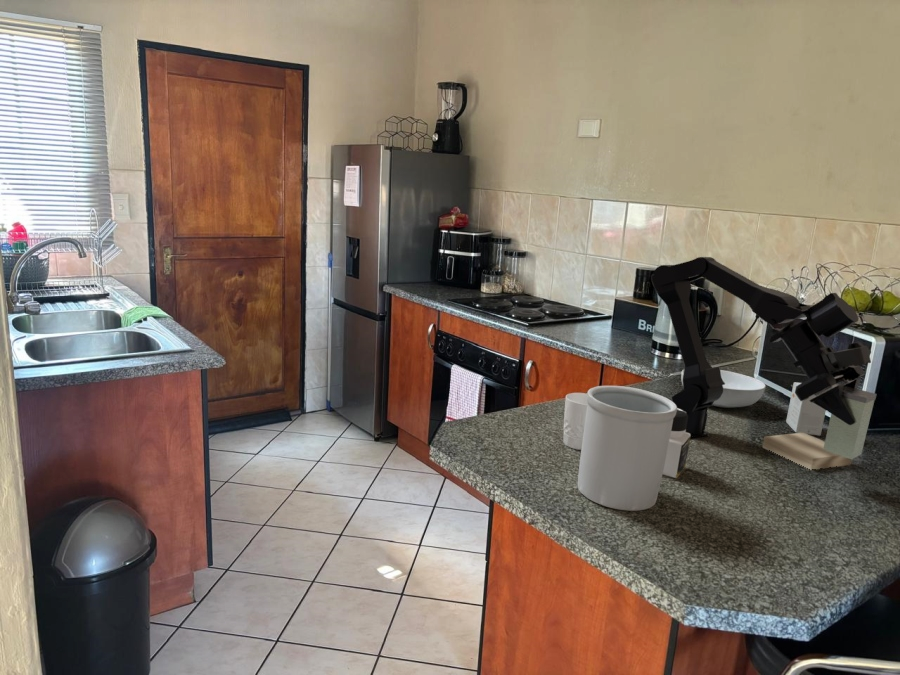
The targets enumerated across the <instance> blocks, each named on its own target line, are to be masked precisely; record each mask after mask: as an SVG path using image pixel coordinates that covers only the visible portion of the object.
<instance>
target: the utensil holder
mask: <svg viewBox="0 0 900 675" xmlns="http://www.w3.org/2000/svg"><path fill="white" fill-rule="evenodd" d="M586 394H587V402H588V405H587V412H586V419H585V426H584V434H583V442H582V449H581V450H580V458H579V468H578V476H577V489H578V491H579V492H580V493H581V494H582V495H583V496H584V497H585V498H586V499H588V500H590V501H592V502H594V503H596V504H599V505H600V506H603V507H607V508H609V509H615V510H618V511H619V510H621V511H630V512H632V511H633V512H634V511H635V512H637V511H645V510H648V509H650V508H652V507H653V506H654V505H656V503H657V499H658V496H659V491H660V486H661V482H662V478H663V476H664V475H663V470H664V464H665V459H666V454H667V449H668V444H669V439H670V434H671V429H672V424H673V418H674V417H675V415H676V412H677V406H676V404H675V403H673V402H672V399H671V400H670V399H669V398H667V397H665V396H663V395H660V394H658V393H655V392H651V391H648V390H645V389H641V388H636V387H630V386H622V385H621V386H620V385H598V386H594V387H591V388H589V389H588V390H587V393H586Z"/></svg>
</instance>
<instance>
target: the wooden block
mask: <svg viewBox="0 0 900 675" xmlns="http://www.w3.org/2000/svg"><path fill="white" fill-rule="evenodd" d="M824 444H825V440H822V439H819V438H817V437H815V436H814V435H810V434H806V433H796V432H795V433H786V434H777V435H776V434H775V435H768V436H767V435H766V436H763V443H762V448H763V449H764V450H767V451H769V450H770V451H769V452H771V451H772V452H771V453H773V452H774V453H773V454H775V453H776V454H775V455H777V454H778V456H779V455H780V457H782V456H783V457H782V458H784V457H785V458H784V459H786V460H788V459H789V460H788V461H790V460H791V462H792V461H793V462H792V463H794V462H795V463H794V464H796V463H797V464H796V465H799V464H800V465H799V466H801V465H802V466H801V467H803V466H804V467H803V468H805V467H806V468H805V469H807V468H808V469H807V470H809V469H810V471H813V470H812V469H816V470H821V469H820V468H823V469H828V468H829V467H831V468H838V467H844V466H850V465H851V464H852V460H853V459H849V458H846V457H843V456H840V455H837V454H834V453H831V452H828V451H824V450H823V448H824ZM836 466H837V467H836Z"/></svg>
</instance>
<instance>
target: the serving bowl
mask: <svg viewBox="0 0 900 675" xmlns="http://www.w3.org/2000/svg"><path fill="white" fill-rule="evenodd" d="M720 372H721V378H722V380H723V382H724V383H725V385H723V393H722V395H721V397H720V398H719V399H718V400H716V401H714V403H713V404H712V407H713V406H714V407H718V408H723V409H724V408H727V409H729V408H730V409H731V408H732V409H733V408H743V407H744V408H745V407H748V406H751V405H753V404H756V403H757V402H758V401H759V400H760V399H761V398H762V397H763V394H764V393H765V391H766V387H767V386H766V384H765V383H764V382H763V381H761V380H759V379H757V378H754V377H752V376H748V375H745V374H742V373H738V372H733V371H730V370H722V369H720ZM683 374H684V369H682V371H681V372H680V376H681V377H680V379H681V384H682V386H683Z"/></svg>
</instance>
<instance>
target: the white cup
mask: <svg viewBox="0 0 900 675" xmlns="http://www.w3.org/2000/svg"><path fill="white" fill-rule="evenodd" d="M564 402H565V403H564V416H563V435H562V436H563V437H562V442H563V444H564V445H565V446H566V447H568V448H571V449H573V450H578V451H581V449H582V442H583V434H584V426H585V419H586V412H587V405H588V402H587V393H586V392H585V393H584V392H572V393H570V392H569V393H568V394H566V395H565V399H564Z"/></svg>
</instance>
